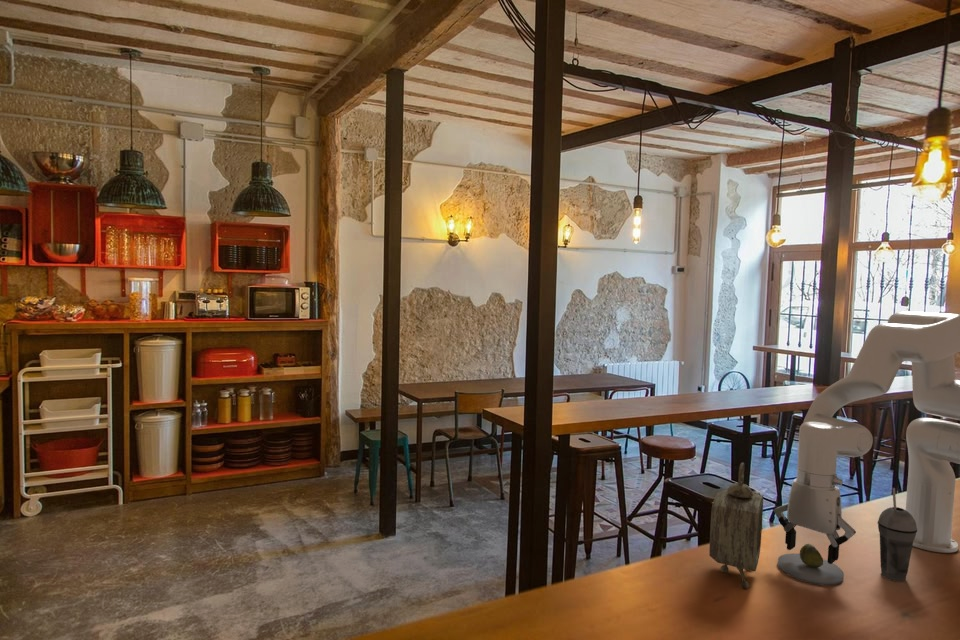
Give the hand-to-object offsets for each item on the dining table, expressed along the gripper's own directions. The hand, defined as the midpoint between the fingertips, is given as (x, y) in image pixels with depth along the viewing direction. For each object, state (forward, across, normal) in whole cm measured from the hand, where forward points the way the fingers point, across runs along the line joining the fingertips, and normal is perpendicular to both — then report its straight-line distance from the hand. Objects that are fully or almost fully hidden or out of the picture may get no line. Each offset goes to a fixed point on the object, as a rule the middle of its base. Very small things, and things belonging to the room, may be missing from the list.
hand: (810, 554), depth 134 cm
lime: (+3, 0, 0) cm, 3 cm away
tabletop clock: (+4, +10, +16) cm, 19 cm away
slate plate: (+4, 0, 0) cm, 4 cm away
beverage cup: (+4, -13, -12) cm, 18 cm away
